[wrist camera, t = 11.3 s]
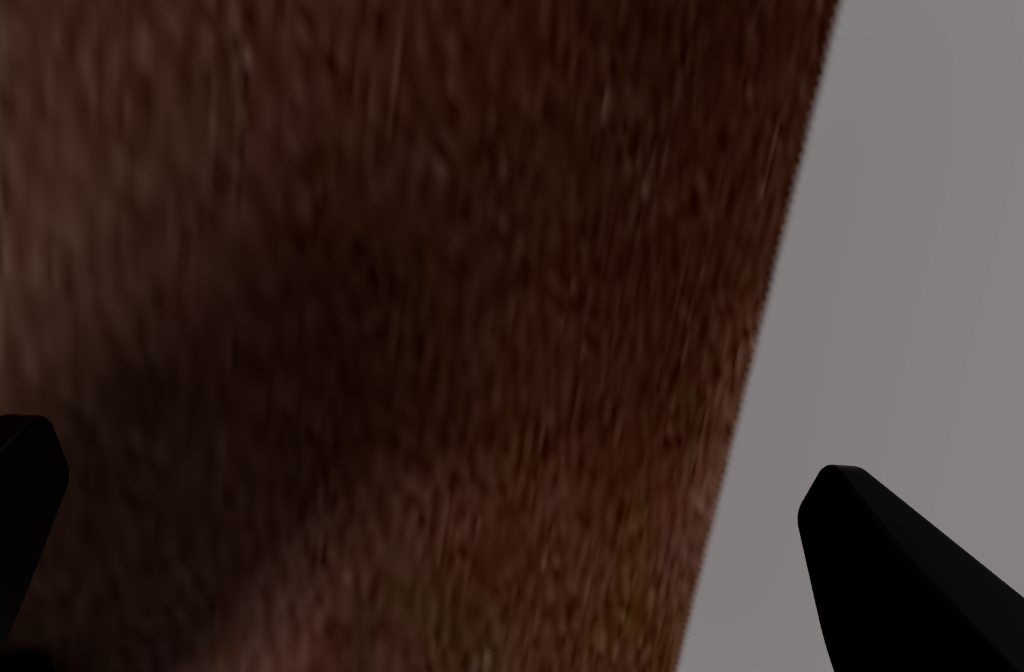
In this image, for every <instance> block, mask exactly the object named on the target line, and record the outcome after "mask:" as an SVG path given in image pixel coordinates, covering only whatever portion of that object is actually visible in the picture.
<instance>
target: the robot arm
mask: <svg viewBox="0 0 1024 672" xmlns="http://www.w3.org/2000/svg"><path fill="white" fill-rule="evenodd" d="M68 480H69V468H68V464H67V461H66V458H65V456H64V453H63V451H62V448H61V446H60V443H59V440H58V438H57V435H56V433H55V430H54V427H53V425H52V423H51V422H50V421H49V420H48V419H47V418H46V417H43V416H37V415H21V414H6V415H2V416H0V648H1V647H2V645H3V643H4V641H5V639H6V637H7V635H8V633H9V631H10V629H11V627H12V624H13V622H14V620H15V618H16V616H17V614H18V612H19V609H20V607H21V604H22V602H23V600H24V597H25V595H26V592H27V590H28V587H29V585H30V582H31V579H32V577H33V574H34V572H35V569H36V566H37V564H38V561H39V559H40V556H41V553H42V551H43V548H44V546H45V543H46V540H47V538H48V535H49V533H50V530H51V528H52V525H53V522H54V520H55V517H56V515H57V512H58V509H59V507H60V504H61V502H62V499H63V496H64V494H65V491H66V488H67V485H68ZM798 527H799V532H800V536H801V541H802V545H803V549H804V554H805V559H806V563H807V568H808V572H809V576H810V581H811V585H812V590H813V594H814V599H815V603H816V608H817V612H818V616H819V621H820V625H821V629H822V633H823V636H824V641H825V644H826V647H827V651H828V654H829V657H830V660H831V663H832V667H833V669H834V672H1024V598H1023V597H1022V596H1021V595H1020V594H1018V593H1017V592H1016V591H1015V590H1013V589H1012V588H1011V587H1010V586H1009V585H1007V584H1006V583H1005V582H1004V581H1002V580H1001V579H1000V578H999V577H997V576H996V575H995V574H994V573H992V572H991V571H989V569H987V568H986V567H985V566H984V565H982V564H981V563H980V562H979V561H977V560H976V559H975V558H974V557H972V556H971V555H970V554H969V553H967V552H966V551H965V550H964V549H962V548H961V547H960V546H959V545H957V544H956V543H955V542H954V541H952V540H951V539H950V538H949V537H948V536H946V535H945V534H944V533H942V532H941V531H940V530H939V529H938V528H936V527H935V526H934V525H933V524H931V523H930V522H929V521H928V520H926V519H925V518H924V517H922V516H921V515H920V514H919V513H917V512H916V511H915V510H914V509H913V508H911V507H910V506H909V505H908V504H906V503H905V502H904V501H903V500H901V499H900V498H899V497H898V496H896V495H895V494H894V493H893V492H891V491H890V490H889V489H888V488H886V487H885V486H884V485H883V484H881V483H880V482H879V481H878V480H877V479H875V478H874V477H873V476H871V475H870V474H869V473H868V472H866V471H865V470H864V469H862V468H860V467H856V466H844V465H827V466H826V467H824V468H823V469H821V471H820V472H819V474H818V475H817V477H816V479H815V481H814V482H813V484H812V486H811V488H810V489H809V491H808V493H807V494H806V496H805V498H804V500H803V501H802V503H801V506H800V508H799V511H798ZM26 668H28V669H31V670H33V671H27V670H24V669H26ZM0 672H55V671H54V669H53V666H52V664H51V662H50V659H49V658H48V657H47V656H46V655H45V654H43V653H41V652H37V651H25V652H20V653H16V654H11V655H6V656H2V657H0Z"/></svg>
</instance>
